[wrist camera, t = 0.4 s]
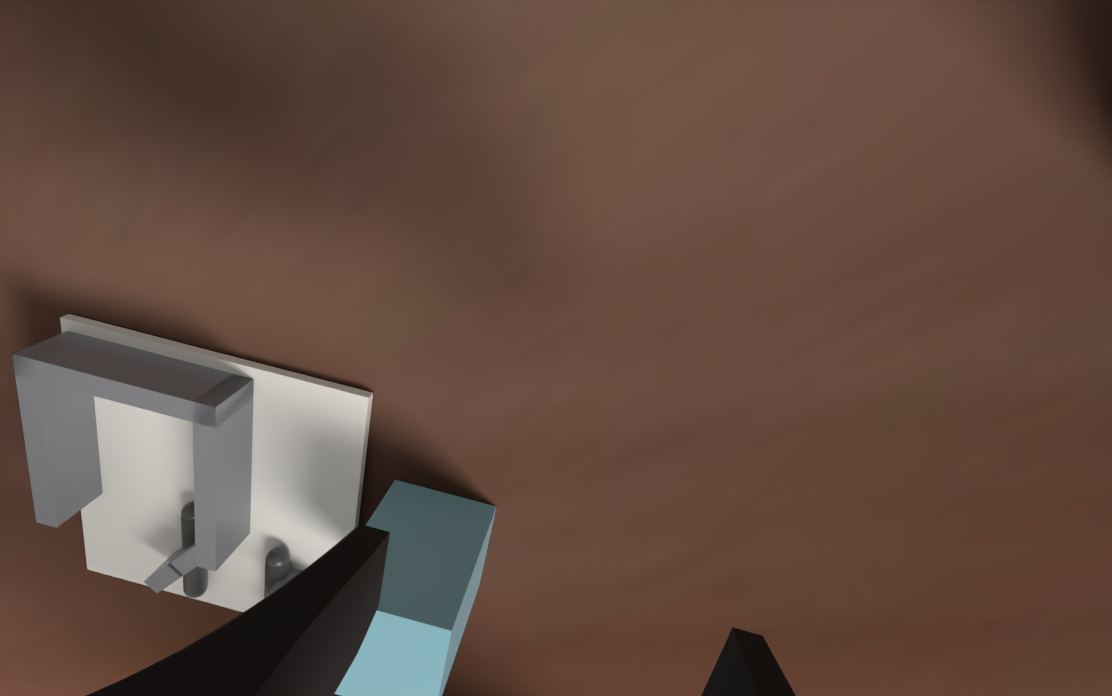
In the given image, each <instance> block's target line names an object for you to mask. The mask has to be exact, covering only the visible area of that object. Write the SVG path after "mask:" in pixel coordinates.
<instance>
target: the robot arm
mask: <svg viewBox="0 0 1112 696" xmlns="http://www.w3.org/2000/svg"><path fill="white" fill-rule="evenodd" d="M389 536H390V532H388V531H384V530H381V529H377V528H373V527H370V526H366V525H363V524H362V525H360V526H358V527H356V528H355V529H353V530H352V531H351V532H350V533H349V534H348V535H346V536H345V537H344V538H343V539H342V540H341V541H339V542H338V543H337V544H336V545H335V546H333V547H332V548H331V549H330V550H328V551H327V552H326V553H325V554H323V555H322V556H321V557H320V558H318V559H317V560H316V561H315V562H313V563H312V564H311V565H309V566H308V567H307V568H306V569H304V570H303V571H301V572H300V573H299V574H297V575H296V576H295V577H293V578H292V579H291V580H289V581H288V582H287V583H285V584H284V585H283V586H281V587H280V588H279V589H277V590H276V591H274V592H273V593H272V594H270V595H269V596H267V597H266V598H264V599H263V600H261V601H260V602H258V603H257V604H255V605H254V606H252V607H251V608H249V609H248V610H246V611H245V612H243V613H242V614H240V615H239V616H237V617H236V618H234V619H233V620H231V621H229V622H228V623H226V624H225V625H223V626H221V627H220V628H218V629H216V630H215V631H213V632H211V633H210V634H208V635H206V636H204V637H203V638H201V639H199V640H198V641H196V642H194V643H192V644H191V645H189V646H187V647H185V648H183V649H182V650H180V651H178V652H176V653H174V654H172V655H170V656H168V657H166V658H164V659H162V660H161V661H159V662H157V663H155V664H153V665H151V666H149V667H147V668H145V669H143V670H141V671H139V672H137V673H135V674H133V675H131V676H129V677H127V678H125V679H123V680H120V681H118V682H116V683H114V684H111V685H109V686H107V687H105V688H102V689H100V690H98V691H95V692H93V693H91V694H89V695H86V696H333V695H334V694H335V692H336V690H337V688H338V687H339V685H340V683H341V681H342V680H343V678H344V676H345V675H346V673H347V671H348V669H349V668H350V666H351V664H352V662H353V661H354V659H355V657H356V655H357V654H358V651H359V649H360V647H361V645H362V643H363V640H364V638H365V636H366V634H367V632H368V629H369V627H370V625H371V622H372V620H373V618H374V616H375V613H376V611H377V609H378V606H379V601H380V594H381V588H382V582H383V575H384V569H385V562H386V556H387V549H388V543H389ZM702 696H796V695H795V694H794V692H793V690H792V688H791V686H790V685H789V683H788V681H787V679H786V677H785V676H784V674H783V672H782V670H781V668H780V667H779V665H778V663H777V661H776V659H775V657H774V656H773V654H772V652H771V650H770V648H769V647H768V645H767V643H766V641H765V639H764V638H763V636H761V635H758V634H754V633H751V632H747V631H743V630H740V629H736V628H732V630H731V632H730V635H729V637H728V639H727V641H726V643H725V645H724V648H723V650H722V652H721V654H720V656H719V659H718V661H717V663H716V665H715V667H714V669H713V672H712V674H711V676H710V678H709V680H708V682H707V685H706V687H705V689H704V691H703V693H702Z"/></svg>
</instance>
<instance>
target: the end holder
mask: <svg viewBox="0 0 1112 696" xmlns="http://www.w3.org/2000/svg"><path fill="white" fill-rule="evenodd" d="M12 358H13V365H14V371H15V378H16V385H17V392H18V399H19V406H20V413H21V420H22V426H23V433H24V440H25V447H26V454H27V461H28V468H29V475H30V482H31V488H32V495H33V502H34V509H35V516H36V522H37V523H41V524H44V525H48V526H52V527H55V528H57V527H58V526H60V525H61V524H62V523H64V522H65V521H66V520H68V519H69V518H70V517H72V516H73V515H74V514H76V513H77V512H78V511H80V510H81V509H82V508H84V507H85V506H86V505H88V504H89V503H90V502H92V501H93V500H94V499H96V498H97V497H99V496H100V495H101V494H103V491H102V480H101V469H100V458H99V447H98V436H97V425H96V414H95V403H94V396H96V397H100V398H103V399H107V400H111V401H115V402H119V403H122V404H126V405H130V406H134V407H137V408H141V409H145V410H149V411H153V412H156V413H160V414H164V415H168V416H171V417H175V418H179V419H183V420H187V421H190V422H193V461H194V514H195V566H198V567H201V568H205V569H209V570H212V571H217V570H218V569H219V567H220V566H221V565H222V564H223V563H224V562H225V561H226V560H227V558H228V557H229V556H230V555H231V554H232V553H233V552H234V551H235V550H236V548H237V547H238V546H239V545H240V544H241V543H242V542H243V541H244V539H245V538H246V537H247V536H248V535H249V534H250V514H251V474H252V435H253V395H254V379H252V378H248V377H244V376H240V375H236V374H232V373H229V372H225V371H221V370H217V369H213V368H209V367H206V366H202V365H198V364H194V363H190V362H186V361H183V360H179V359H175V358H171V357H167V356H163V355H160V354H156V353H152V352H148V351H144V350H140V349H137V348H133V347H129V346H125V345H121V344H117V343H114V342H110V341H106V340H102V339H98V338H94V337H91V336H87V335H83V334H79V333H75V332H71V331H65V332H63V333H61V334H58V335H56V336H54V337H51V338H49V339H46V340H44V341H42V342H39V343H37V344H34V345H32V346H30V347H27V348H25V349H22V350H20V351H18V352H15V353H13V354H12Z"/></svg>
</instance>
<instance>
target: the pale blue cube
mask: <svg viewBox="0 0 1112 696" xmlns="http://www.w3.org/2000/svg"><path fill="white" fill-rule="evenodd" d="M495 511H496V506H492V505H489V504H485V503H481V502H477V501H474V500H470V499H466V498H462V497H459V496H455V495H451V494H447V493H443V492H440V491H436V490H432V489H428V488H425V487H421V486H417V485H413V484H409V483H406V482H402V481H398V480H395V481H394V482H393V484H392V485H391V487H390V488H389V490H388V491H387V493H386V495H385V496H384V498H383V499H382V501H381V502H380V504H379V505H378V507H377V509H376V510H375V512H374V513H373V515H372V516H371V518H370V519H369V521H368V523H367V524H366V526H370V527H373V528H377V529H381V530H384V531H388V532H390V536H389V543H388V549H387V556H386V562H385V569H384V575H383V582H382V588H381V594H380V601H379V606H378V609H377V611H376V613H375V616H374V618H373V620H372V622H371V625H370V627H369V629H368V632H367V634H366V636H365V638H364V640H363V643H362V645H361V647H360V649H359V651H358V654H357V655H356V657H355V659H354V661H353V662H352V664H351V666H350V668H349V669H348V671H347V673H346V675H345V676H344V678H343V680H342V681H341V683H340V685H339V687H338V688H337V690H336V692H335V694H337V695H341V696H442V694H443V691H444V688H445V685H446V682H447V679H448V676H449V674H450V671H451V668H452V665H453V662H454V659H455V656H456V653H457V650H458V647H459V644H460V641H461V638H462V635H463V632H464V629H465V626H466V623H467V620H468V617H469V614H470V611H471V608H472V605H473V602H474V599H475V596H476V593H477V591H478V588H479V584H480V580H481V575H482V570H483V566H484V561H485V557H486V552H487V548H488V543H489V539H490V534H491V529H492V525H493V520H494V516H495Z"/></svg>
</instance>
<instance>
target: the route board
mask: <svg viewBox="0 0 1112 696" xmlns="http://www.w3.org/2000/svg"><path fill="white" fill-rule="evenodd" d="M60 322H61V331H62V333H63V332H65V331H71V332H75V333H79V334H83V335H87V336H91V337H94V338H98V339H102V340H106V341H110V342H114V343H117V344H121V345H125V346H129V347H133V348H137V349H140V350H144V351H148V352H152V353H156V354H160V355H163V356H167V357H171V358H175V359H179V360H183V361H186V362H190V363H194V364H198V365H202V366H206V367H209V368H213V369H217V370H221V371H225V372H229V373H232V374H236V375H240V376H244V377H248V378H252V379H254V395H253V435H252V474H251V514H250V534H249V535H248V536H247V537H246V538H245V539H244V541H243V542H242V543H241V544H240V545H239V546H238V547H237V548H236V550H235V551H234V552H233V553H232V554H231V555H230V556H229V557H228V558H227V560H226V561H225V562H224V563H223V564H222V565H221V566H220V567H219V569H218V570H217V571H212V570H209V569H205V568H201V567H198V566H195V514H194V461H193V422H190V421H187V420H183V419H179V418H175V417H171V416H168V415H164V414H160V413H156V412H153V411H149V410H145V409H141V408H137V407H134V406H130V405H126V404H122V403H119V402H115V401H111V400H107V399H103V398H100V397H96V396H94V403H95V414H96V425H97V436H98V447H99V458H100V469H101V480H102V491H103V494H101V495H100V496H99V497H97V498H96V499H94V500H93V501H92V502H90V503H89V504H88V505H86V506H85V507H84V508H82V509H81V515H82V524H83V534H84V543H85V552H86V561H87V569H88V570H92V571H95V572H99V573H102V574H106V575H110V576H113V577H117V578H121V579H124V580H128V581H131V582H135V583H139V584H142V585H146V586H149V587H150V588H151V589H152V590H153V591H154V592H156V593H159V592H160V591H162V590H164V591H168V592H171V593H175V594H179V595H182V596H186V597H189V598H193V599H197V600H200V601H204V602H208V603H211V604H215V605H218V606H222V607H226V608H229V609H233V610H237V611H240V612H245V611H246V610H248V609H249V608H251V607H252V606H254V605H255V604H257V603H258V602H260V601H261V600H263V599H264V598H266V597H267V596H269V595H270V594H272V593H273V592H274V591H276V590H277V589H279V588H280V587H281V586H283V585H284V584H285V583H287V582H288V581H289V580H291V579H292V578H293V577H295V576H296V575H297V574H299V573H300V572H301V571H303V570H304V569H306V568H307V567H308V566H309V565H311V564H312V563H313V562H315V561H316V560H317V559H318V558H320V557H321V556H322V555H323V554H325V553H326V552H327V551H328V550H330V549H331V548H332V547H333V546H335V545H336V544H337V543H338V542H339V541H341V540H342V539H343V538H344V537H345V536H346V535H348V534H349V533H350V532H351V531H352V530H353V529H355V528H356V527H358V524H359V515H360V506H361V497H362V489H363V480H364V471H365V462H366V453H367V444H368V435H369V426H370V417H371V408H372V399H373V393H372V392H368V391H364V390H360V389H357V388H353V387H349V386H345V385H341V384H337V383H333V382H330V381H326V380H322V379H318V378H314V377H310V376H307V375H303V374H299V373H295V372H291V371H287V370H283V369H280V368H276V367H272V366H268V365H264V364H260V363H256V362H253V361H249V360H245V359H241V358H237V357H233V356H230V355H226V354H222V353H218V352H214V351H210V350H206V349H203V348H199V347H195V346H191V345H187V344H183V343H179V342H176V341H172V340H168V339H164V338H160V337H156V336H152V335H149V334H145V333H141V332H137V331H133V330H129V329H126V328H122V327H118V326H114V325H110V324H106V323H102V322H99V321H95V320H91V319H87V318H83V317H79V316H75V315H72V314H68V315H65V316H63V317H60Z"/></svg>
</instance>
